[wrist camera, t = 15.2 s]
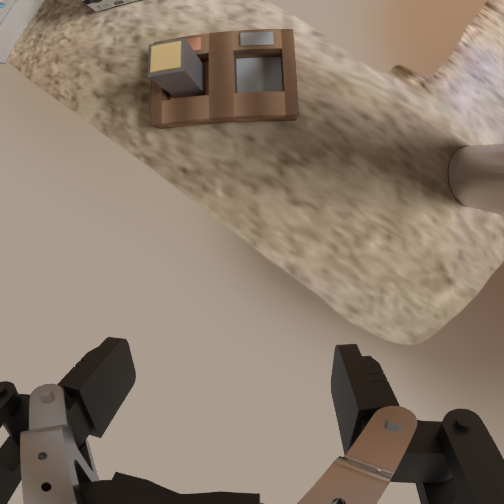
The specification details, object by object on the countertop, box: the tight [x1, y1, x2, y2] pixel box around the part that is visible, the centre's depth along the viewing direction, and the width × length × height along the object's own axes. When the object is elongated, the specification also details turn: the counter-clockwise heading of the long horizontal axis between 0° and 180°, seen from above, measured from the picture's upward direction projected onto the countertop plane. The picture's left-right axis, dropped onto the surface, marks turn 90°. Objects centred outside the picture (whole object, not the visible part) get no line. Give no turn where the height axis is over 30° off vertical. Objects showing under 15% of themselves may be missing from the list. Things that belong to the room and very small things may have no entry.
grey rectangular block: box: [148, 38, 206, 98], centre depth 30 cm, size 4×4×10 cm
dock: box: [151, 29, 298, 129], centre depth 33 cm, size 18×12×4 cm, turn 92°
